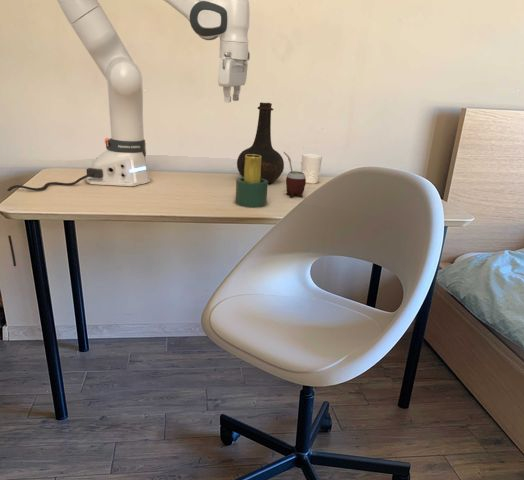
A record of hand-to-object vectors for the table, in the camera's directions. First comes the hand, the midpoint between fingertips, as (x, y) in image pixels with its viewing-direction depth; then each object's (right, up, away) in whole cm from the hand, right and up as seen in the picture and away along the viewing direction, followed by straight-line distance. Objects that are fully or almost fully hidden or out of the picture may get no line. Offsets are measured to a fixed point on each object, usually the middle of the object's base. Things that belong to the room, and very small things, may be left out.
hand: (231, 101), depth 167 cm
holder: (+6, -33, +3) cm, 33 cm away
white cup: (+29, -14, +38) cm, 50 cm away
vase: (+6, -32, +2) cm, 33 cm away
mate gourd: (+21, -27, +16) cm, 37 cm away
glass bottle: (+9, -16, +32) cm, 37 cm away
